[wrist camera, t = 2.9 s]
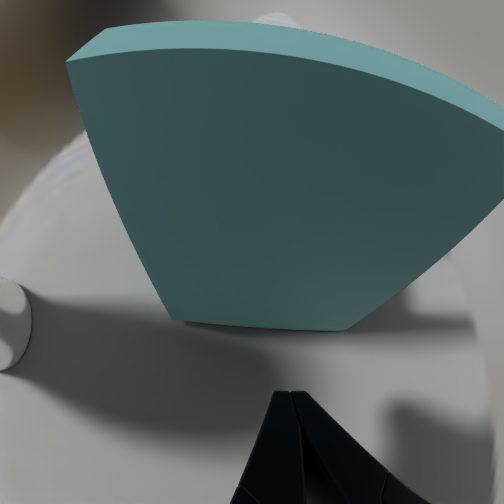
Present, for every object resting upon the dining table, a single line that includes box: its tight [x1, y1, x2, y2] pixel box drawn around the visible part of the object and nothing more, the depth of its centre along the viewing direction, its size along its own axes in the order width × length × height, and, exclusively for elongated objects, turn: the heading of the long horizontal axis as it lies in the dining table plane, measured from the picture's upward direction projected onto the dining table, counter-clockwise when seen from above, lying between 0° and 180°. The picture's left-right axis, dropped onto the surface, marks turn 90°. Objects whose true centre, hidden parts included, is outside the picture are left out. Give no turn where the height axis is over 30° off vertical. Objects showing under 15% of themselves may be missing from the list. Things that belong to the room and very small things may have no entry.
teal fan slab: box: [66, 21, 504, 331], centre depth 11 cm, size 7×9×13 cm
